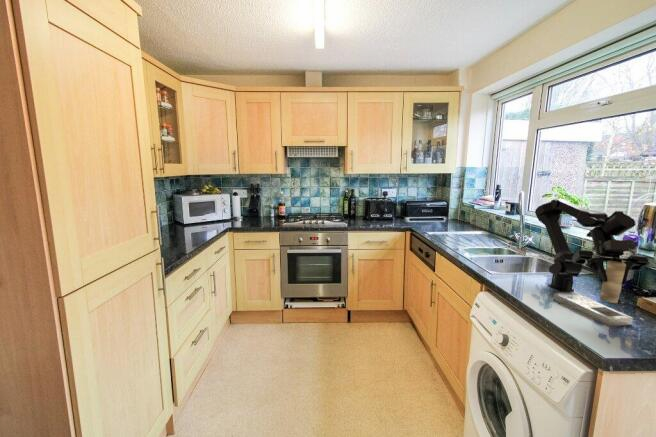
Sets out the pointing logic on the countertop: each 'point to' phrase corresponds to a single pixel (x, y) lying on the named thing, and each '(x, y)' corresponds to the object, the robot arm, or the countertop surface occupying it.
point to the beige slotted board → (593, 309)
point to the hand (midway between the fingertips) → (615, 282)
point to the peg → (613, 281)
